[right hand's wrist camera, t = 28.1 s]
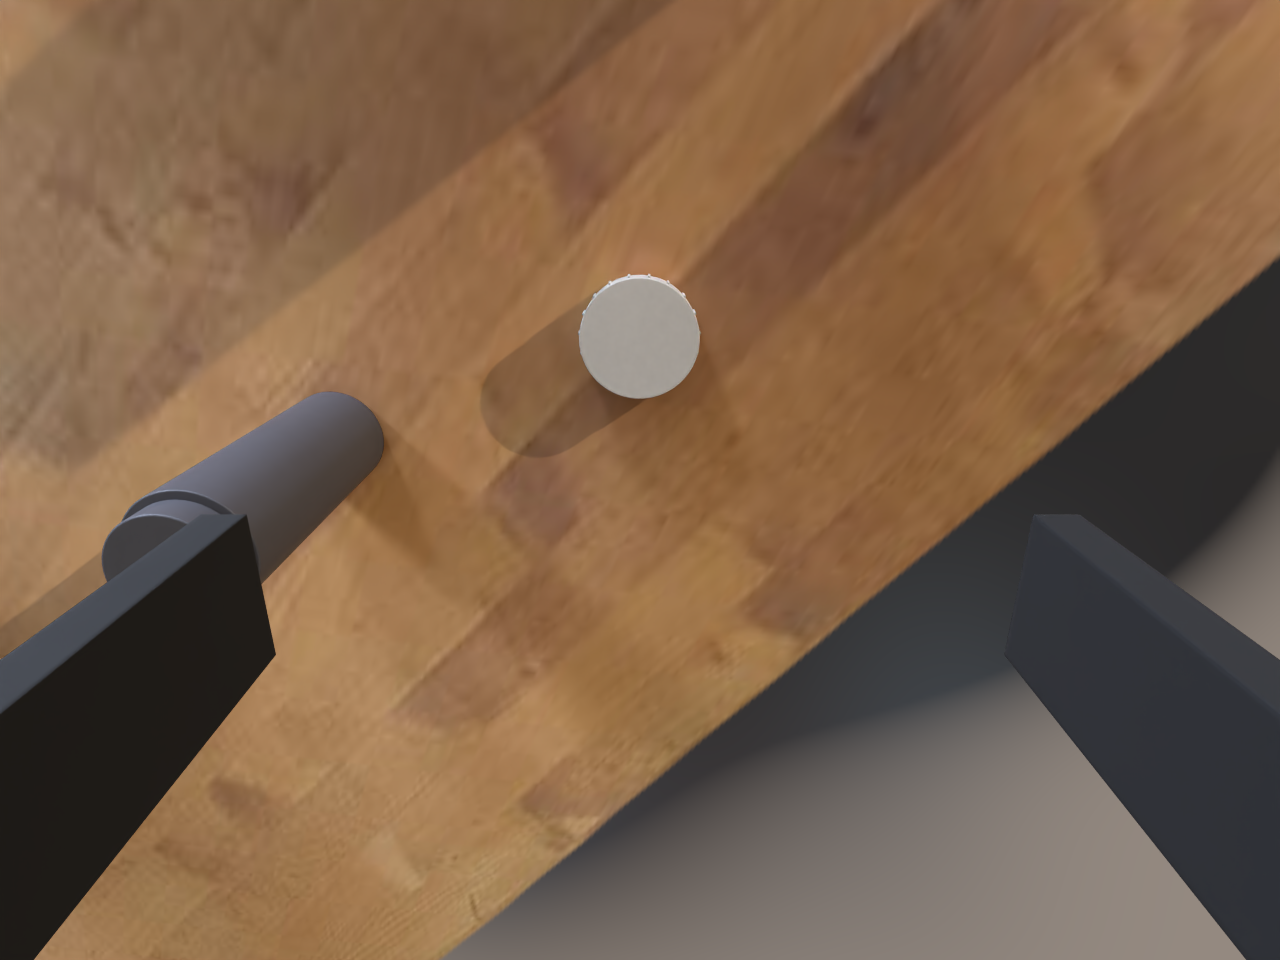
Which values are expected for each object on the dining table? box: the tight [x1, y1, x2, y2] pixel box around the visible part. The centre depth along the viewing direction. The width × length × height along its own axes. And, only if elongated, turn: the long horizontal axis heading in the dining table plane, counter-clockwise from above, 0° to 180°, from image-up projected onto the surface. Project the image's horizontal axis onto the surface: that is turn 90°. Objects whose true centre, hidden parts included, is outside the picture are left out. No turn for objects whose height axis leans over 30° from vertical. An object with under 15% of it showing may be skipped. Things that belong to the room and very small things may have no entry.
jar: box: [102, 392, 384, 584], centre depth 32 cm, size 5×5×15 cm
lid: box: [578, 274, 701, 399], centre depth 36 cm, size 6×6×2 cm
